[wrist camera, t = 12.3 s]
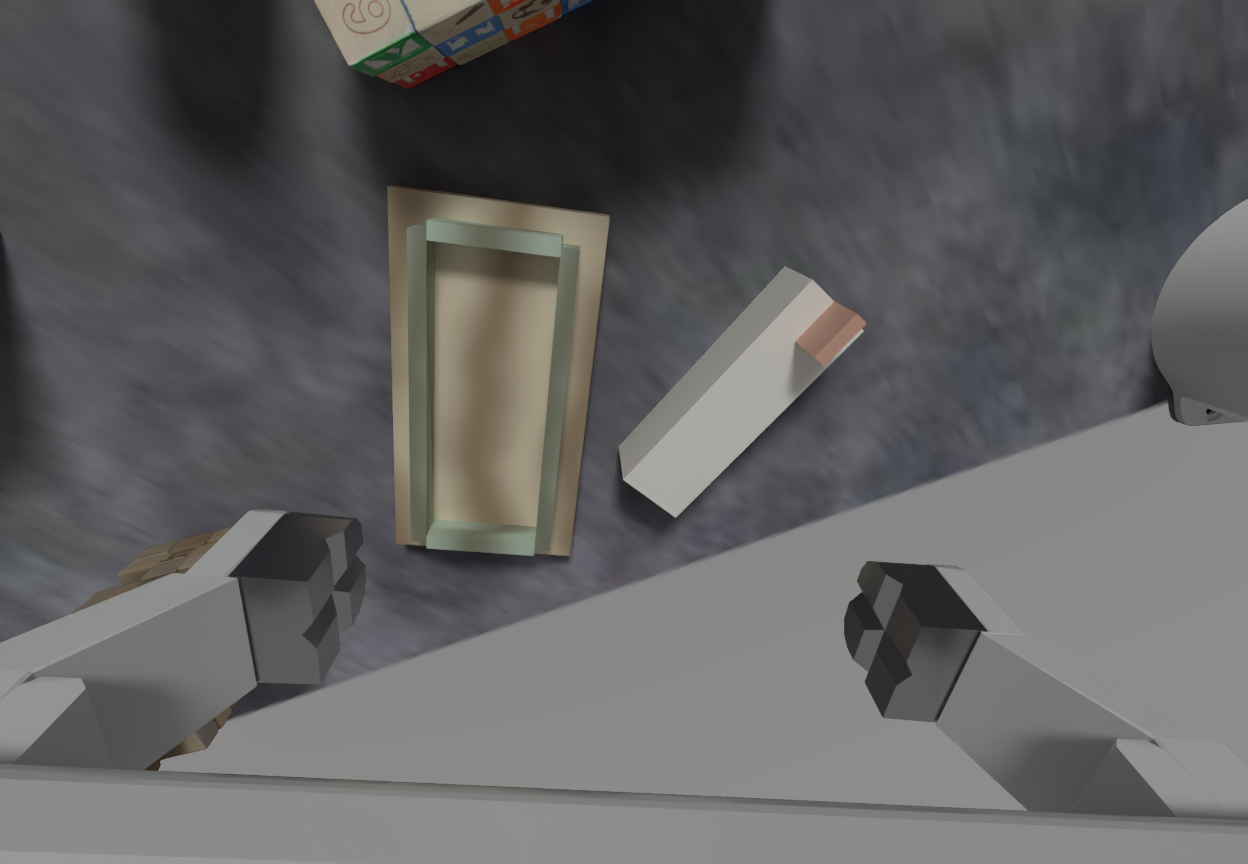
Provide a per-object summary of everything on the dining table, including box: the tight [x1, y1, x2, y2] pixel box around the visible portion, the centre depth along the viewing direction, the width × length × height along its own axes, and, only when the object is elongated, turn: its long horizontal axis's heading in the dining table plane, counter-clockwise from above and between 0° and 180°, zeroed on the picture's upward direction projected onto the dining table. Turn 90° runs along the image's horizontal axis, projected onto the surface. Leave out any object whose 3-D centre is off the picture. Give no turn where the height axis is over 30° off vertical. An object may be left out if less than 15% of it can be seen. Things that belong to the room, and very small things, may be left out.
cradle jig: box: [387, 185, 610, 556], centre depth 37 cm, size 12×23×4 cm, turn 172°
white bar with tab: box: [619, 267, 867, 518], centre depth 36 cm, size 4×16×8 cm, turn 139°
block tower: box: [72, 527, 239, 771], centre depth 30 cm, size 8×8×29 cm
